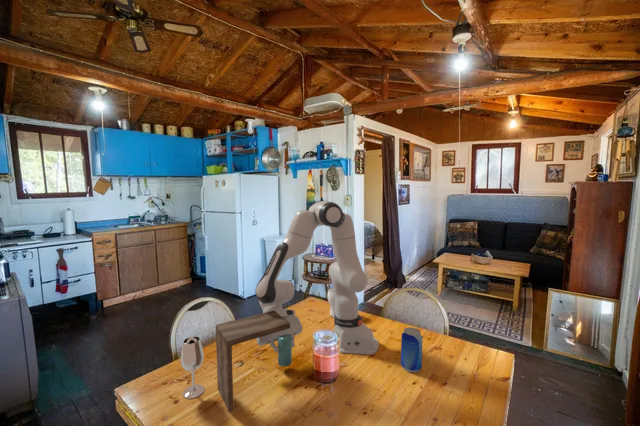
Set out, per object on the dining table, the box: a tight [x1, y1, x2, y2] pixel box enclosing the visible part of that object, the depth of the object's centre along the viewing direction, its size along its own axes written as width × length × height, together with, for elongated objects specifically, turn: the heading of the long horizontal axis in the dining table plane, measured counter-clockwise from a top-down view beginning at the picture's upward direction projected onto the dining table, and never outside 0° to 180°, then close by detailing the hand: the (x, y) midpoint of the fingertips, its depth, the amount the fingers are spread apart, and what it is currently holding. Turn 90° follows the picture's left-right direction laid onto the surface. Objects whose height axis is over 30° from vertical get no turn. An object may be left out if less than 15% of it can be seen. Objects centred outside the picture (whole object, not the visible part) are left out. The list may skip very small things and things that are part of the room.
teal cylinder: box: [277, 334, 293, 367], centre depth 123 cm, size 6×6×11 cm
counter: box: [215, 311, 290, 413], centre depth 111 cm, size 14×24×25 cm, turn 124°
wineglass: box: [180, 336, 205, 400], centre depth 109 cm, size 8×8×20 cm
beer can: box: [400, 327, 424, 373], centre depth 124 cm, size 8×8×16 cm
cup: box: [326, 287, 335, 318], centre depth 176 cm, size 11×11×15 cm
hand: (285, 349), depth 122 cm, fingers closed on teal cylinder, 6 cm apart
